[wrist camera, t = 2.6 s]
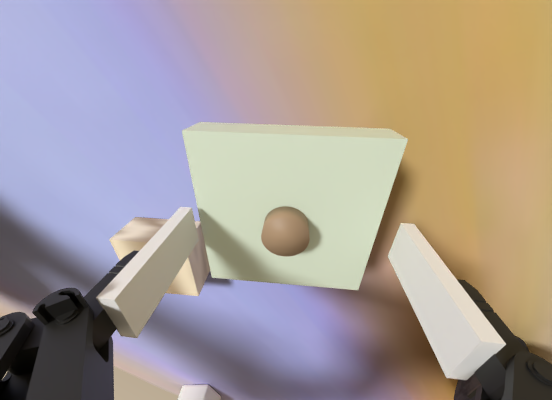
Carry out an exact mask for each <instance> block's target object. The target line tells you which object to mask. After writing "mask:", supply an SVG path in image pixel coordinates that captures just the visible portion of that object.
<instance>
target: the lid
mask: <svg viewBox="0 0 552 400" xmlns="http://www.w3.org/2000/svg"><path fill="white" fill-rule="evenodd" d="M182 134H183V138H184V143H185V148H186V153H187V158H188V163H189V168H190V173H191V178H192V183H193V187H194V192H195V197H196V202H197V207H198V212H199V217H200V222H201V227H202V232H203V236H204V241H205V246H206V251H207V256H208V261H209V266H210V271H211V276H212V278H223V279H234V280H246V281H257V282H269V283H280V284H292V285H303V286H315V287H326V288H338V289H349V290H358V289H359V286H360V283H361V280H362V277H363V274H364V271H365V268H366V265H367V262H368V259H369V256H370V253H371V250H372V246H373V243H374V240H375V237H376V234H377V231H378V228H379V225H380V222H381V219H382V216H383V213H384V210H385V207H386V204H387V201H388V198H389V195H390V192H391V189H392V186H393V183H394V180H395V177H396V174H397V171H398V168H399V165H400V162H401V159H402V156H403V153H404V150H405V147H406V144H407V141H408V139H407V138H405V137H403V136H402V135H400V134H398V133H396V132H395V131H393V130H391V129H382V128H354V127H325V126H296V125H268V124H239V123H210V122H199V123H197V124H195V125H193V126H191V127H189V128H186V129H184V130H182Z"/></svg>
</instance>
